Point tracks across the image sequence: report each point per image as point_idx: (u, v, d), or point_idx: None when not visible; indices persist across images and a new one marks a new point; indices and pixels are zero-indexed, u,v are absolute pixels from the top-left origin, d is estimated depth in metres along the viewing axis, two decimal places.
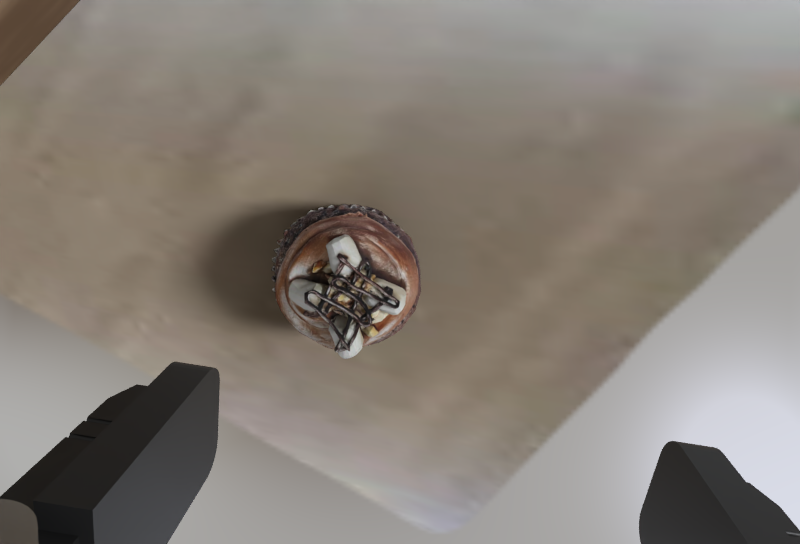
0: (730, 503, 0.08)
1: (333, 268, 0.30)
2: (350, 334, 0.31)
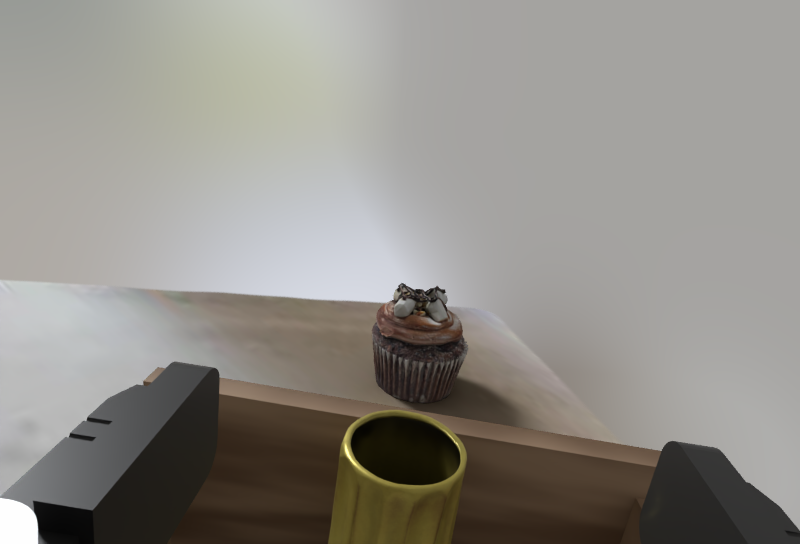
0: (730, 503, 0.08)
1: (412, 301, 0.51)
2: None
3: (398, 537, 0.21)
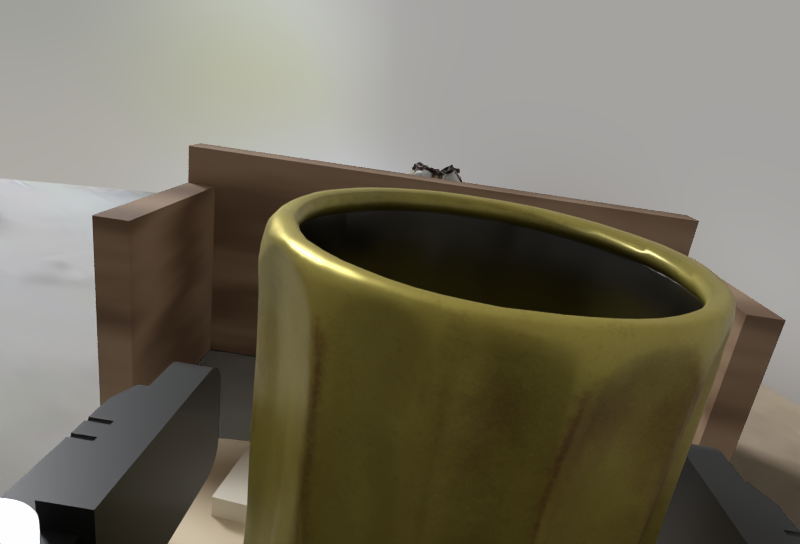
0: (729, 502, 0.08)
1: (429, 172, 0.53)
2: None
3: None
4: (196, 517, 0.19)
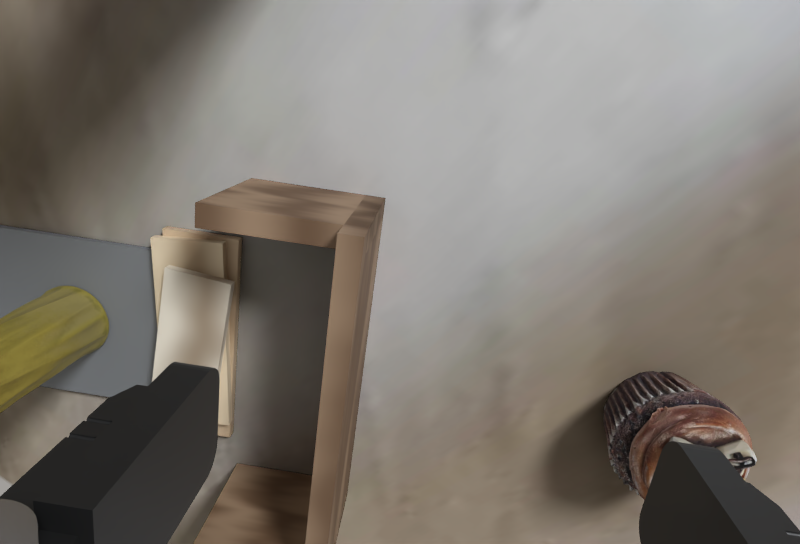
0: (730, 503, 0.08)
1: None
2: None
3: None
4: (167, 259, 0.42)
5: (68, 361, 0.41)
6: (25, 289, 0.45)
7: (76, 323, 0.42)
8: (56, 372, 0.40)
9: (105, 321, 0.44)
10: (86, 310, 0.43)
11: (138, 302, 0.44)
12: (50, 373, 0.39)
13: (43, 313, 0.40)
